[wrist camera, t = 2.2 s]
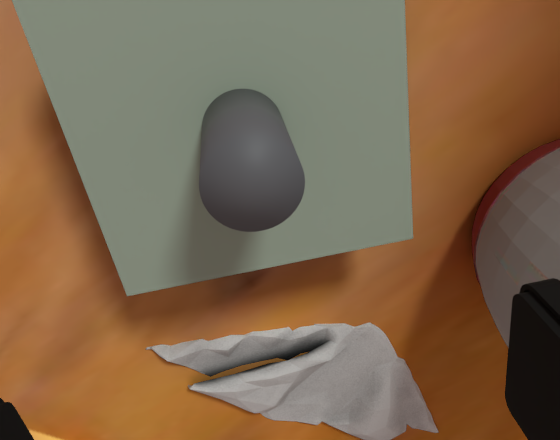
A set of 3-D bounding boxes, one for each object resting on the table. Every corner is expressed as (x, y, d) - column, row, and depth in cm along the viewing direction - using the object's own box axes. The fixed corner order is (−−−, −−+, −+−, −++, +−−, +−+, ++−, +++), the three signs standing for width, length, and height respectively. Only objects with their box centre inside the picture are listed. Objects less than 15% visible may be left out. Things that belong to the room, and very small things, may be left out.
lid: (392, -97, 20) (473, -115, 14) (406, 228, 27) (463, 311, 21) (11, -27, 19) (-80, -13, 13) (129, 284, 27) (106, 385, 21)
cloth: (485, 388, 43) (498, 410, 41) (372, 479, 47) (379, 503, 45) (237, 231, 33) (239, 249, 31) (122, 364, 37) (117, 389, 35)
